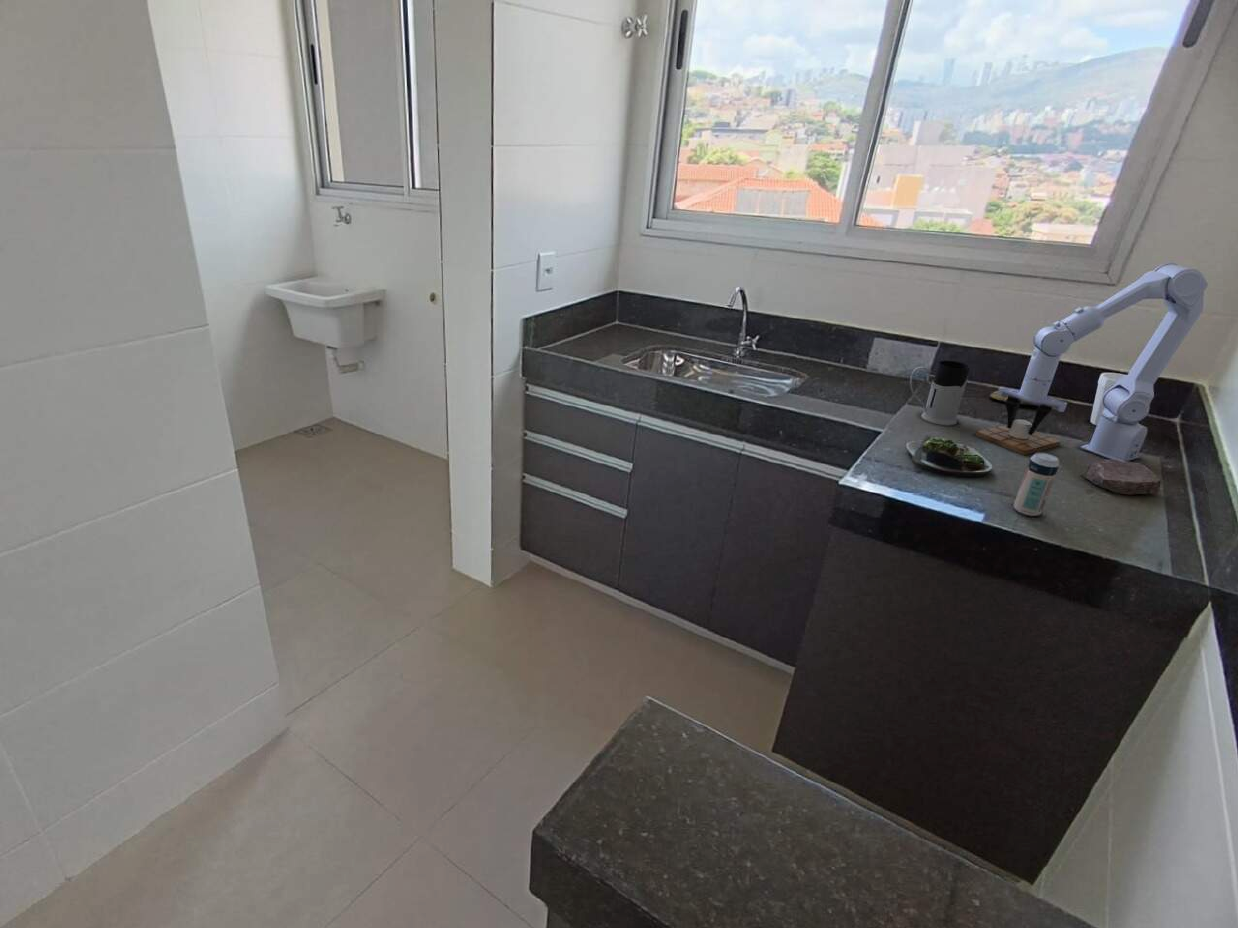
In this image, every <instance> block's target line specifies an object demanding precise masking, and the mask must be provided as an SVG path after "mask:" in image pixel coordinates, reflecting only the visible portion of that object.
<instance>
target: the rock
mask: <svg viewBox="0 0 1238 928" xmlns="http://www.w3.org/2000/svg"><path fill="white" fill-rule="evenodd" d="M998 391H999V390H997V391H993V392H992V393H990V395H989V397H990V398H991V399H993V400H997V401H999V402H1003V403H1005V401H1006V400H1007V398H1008V397H1004V396H997V394H998ZM1020 405H1022V406H1023V405H1025V406H1037V405H1036V404H1032V403H1028V402H1024V401H1021V403H1020Z"/></svg>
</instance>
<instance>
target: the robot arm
mask: <svg viewBox="0 0 1238 928" xmlns="http://www.w3.org/2000/svg"><path fill="white" fill-rule="evenodd" d="M1208 286H1209V283H1208V282H1207V279H1206V278H1205V276H1204V274H1203V273H1202V272H1201V271H1200V270H1198V269H1195V268H1190V267H1185V266H1182V265H1179V264H1178V263H1173V262H1167V263H1164V264H1161V265H1159V266H1157V267H1156V268H1155V269H1154V270H1150V271H1147V272H1146V273H1144V274H1143V275H1142V276H1141V277H1140V278H1138V279H1137V280H1136V281H1134V282H1133V283H1131V284H1129V285H1128V286H1126V287H1124V288H1123V289H1121V290H1120V291H1119V292H1117V293H1115V294H1114V295H1112V296H1111V297H1109V298H1108V299H1106V300H1104V301H1103V302H1100V304H1098V305H1096V306H1088V305H1087V306H1084V307H1080V306H1079V307H1078V308H1076V309H1074V313H1072V314H1071V315H1069V316H1067V317H1065V318H1064V319H1062V320H1060V321H1058V320H1057V321H1054V322H1053V325H1052V326H1050V325H1049V326H1045V327H1042V328H1041V329H1040V330H1038V331H1037V334H1035V335H1033V336H1032V343H1033V345H1034V349H1033V351H1032V355H1031V357H1030V359H1029V360H1030V361H1029V363H1028V365H1027V368H1026V372H1025V375H1024V377H1023V381H1022V383H1021V387H1020V389H1015V388H1011V387H1005V386H1000V387H999V388H998V390H997V391H998V394H997V396H1004V397H1008V398H1007V400H1006V401H1005V402H1004V403H1005V407H1006V413H1007V424H1006V425H1007V428H1009V429H1010V428H1011V425H1012V422H1013V421H1015V420H1016V416H1017V412H1018V409H1019V407H1020V405H1021V404H1020V403H1021V401H1024V402H1028V403H1032V404H1036V405H1035V406H1039V407H1037V408H1036V411H1035V416H1034V419H1033V422H1032V423H1031V424H1032V426H1031V429H1030V431H1029V434H1031V435H1032V434H1033V433H1034V432H1036V430H1037V428H1038V427H1039V425H1040V424H1041V422H1042V421H1043V420H1044V419H1045V418H1046V416H1048V415H1049V414H1050V413H1051V411H1053V410H1056V411H1057V412H1060V413H1063V412H1065V410H1066V407H1067V405H1068V402H1065V401H1062V400H1059V399H1056V398H1052V397H1050V396H1048V394H1049V391H1050V388H1051V385H1052V382H1053V380H1054V377H1055V374H1056V371H1057V369H1058V365H1059V364H1060V359H1061V356H1062V354H1065V353H1066V352H1067V351H1068V350H1069V349H1070V348H1071V345H1072V344H1074V343H1075V342H1078V341H1079V340H1081V339H1083V338H1085V337H1086V336H1088V335H1090V334H1092V333H1093V332H1095V331H1097V330H1099V329H1101V328H1102V327H1103V325H1104V322H1105V320H1106V319H1108V318H1110V317H1112V316H1115V315H1116V314H1117V313H1120V312H1122V311H1124V310H1126V309H1127V308H1130V307H1131V306H1134V305H1136V304H1137V303H1140V302H1141V301H1143V300H1148V299H1149V300H1163V303H1164V305H1165V307H1166V308H1167V313H1166V314H1165V315H1164V318H1163V319H1162V320H1161V322H1160V323H1159V325H1158V327H1157V328H1156V330H1155V331H1154V333H1153V335H1152V336H1151V337H1150V339H1149V341H1148V343H1146V345H1145V346H1144V348H1143V350H1142V352H1141V353H1140V355H1139V356H1138V358H1137V359H1136V361H1135V363H1134V364H1133V366H1132V367H1131V369H1130V370H1129V372H1128V373H1127V374H1126V375H1127V376H1125V377H1123V378H1121V379H1119V380H1118V381H1117V382H1116V384H1115V385H1114V386H1113V387H1112V388H1110V389H1109V390H1107V391H1106V392H1105V393H1104V395H1103V397H1102V403H1103V405H1104V407H1105V408H1104V410H1103V412H1102V414H1101V417H1100V419H1099V422H1098V424H1097V425H1096V427H1095V429H1094V431H1093V435H1092V437H1091V440H1090V441H1089V443H1087V444H1084V445H1081V446H1080V449H1082V450H1084V451H1087V452H1090V453H1093V454H1095V455H1098V456H1101V457H1103V458H1106V459H1108V460H1111V459H1115V460H1119V461H1122V462H1131V461H1132V460H1136V459H1138V458H1139V454H1140V451H1141V449H1142V447H1143V445H1144V443H1145V440H1146V437H1147V435H1148V427H1147V426H1144V425H1142V424H1140V423H1139V422H1141V421H1142V420H1143V419H1145V418H1146V417H1147V416H1148V414H1149V412H1150V409H1151V407H1150V406H1151V403H1152V400H1153V399H1154V397H1155V393H1154V392H1155V391H1154V385H1155V383H1156V381H1157V380H1158V379H1159V377H1160V375H1161V374H1162V373H1163V371H1164V370H1165V369H1166V367H1167V365H1168V363H1169V362H1170V361H1171V359H1172V358H1173V356H1174V354H1175V353H1176V351H1178V349H1179V347H1180V346H1181V344H1182V343H1183V341H1184V340H1185V338H1186V337H1187V335H1188V334H1189V333H1190V331H1191V329H1192V328H1193V326H1194V325H1195V323H1196V322H1197V320H1198V319H1199V317H1200V316H1201V314H1202V313H1203V310H1204V300H1205V299H1204V298H1205V291H1206V289H1207V288H1208Z"/></svg>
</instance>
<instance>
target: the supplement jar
mask: <svg viewBox="0 0 1238 928" xmlns="http://www.w3.org/2000/svg"><path fill="white" fill-rule="evenodd" d="M1059 467H1060V461H1059V458H1058V457H1057V456H1056V455H1053V454H1051V453H1046V452H1035V453H1034V454H1033V455H1032V456H1031V457H1030V459H1029V461H1028V464H1027V466H1026V470H1025V472H1024V475H1023V478H1022V481H1021V482H1020V483H1021V484H1020V486H1019V490H1018V492H1017V495H1016V498H1015V501H1014V503H1013V508H1014V510H1016V511H1017V512H1018V513H1019V514H1022V515H1024V516H1028V517H1034V516H1040V515H1041V514H1042V511H1043V509H1044V506H1045V503H1046V501H1047V499H1048V497H1049V493H1050V491H1051V488H1052V485H1053V483H1054V480H1055V478H1056V475H1057V472H1058V469H1059Z"/></svg>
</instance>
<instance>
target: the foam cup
mask: <svg viewBox="0 0 1238 928" xmlns="http://www.w3.org/2000/svg"><path fill="white" fill-rule="evenodd" d="M1127 375H1128V374H1122V373H1117V372H1102V373H1101V374H1099V378H1098V380H1097V388H1096V391H1095V392H1096V393H1095V398H1094V402H1093V405H1092V410H1091V415H1090V420H1089V421H1090V423H1091V424H1092V425H1095V426H1097V424H1098V422H1099V419H1100V417H1101V414H1102V412H1103V410H1104V408H1105V407H1104V405H1103V403H1102V397H1103V395H1104V393H1105V392H1106V391H1107V390H1109V389H1110V388H1112V387H1113V386H1114V385H1115V384H1116V382H1117V381H1118V380H1119V379H1121V378H1123V377H1125V376H1127Z"/></svg>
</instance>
